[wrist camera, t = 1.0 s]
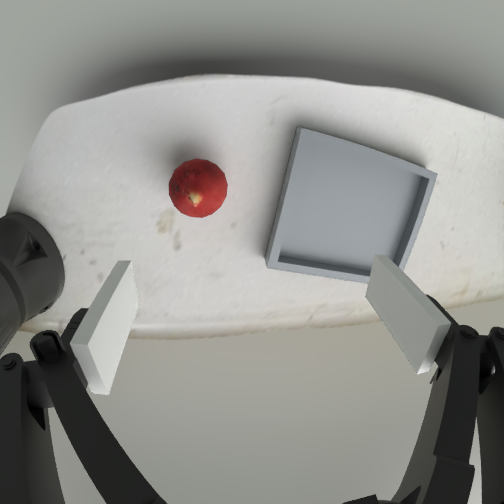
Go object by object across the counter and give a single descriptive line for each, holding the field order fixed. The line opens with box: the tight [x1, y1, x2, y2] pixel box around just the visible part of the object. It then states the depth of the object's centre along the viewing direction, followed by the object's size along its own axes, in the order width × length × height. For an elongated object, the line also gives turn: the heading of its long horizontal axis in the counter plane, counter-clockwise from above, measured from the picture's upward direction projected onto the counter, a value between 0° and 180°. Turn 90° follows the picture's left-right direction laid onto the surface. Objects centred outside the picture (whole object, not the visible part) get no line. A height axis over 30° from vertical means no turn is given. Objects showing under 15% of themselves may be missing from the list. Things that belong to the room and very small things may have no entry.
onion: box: [169, 159, 228, 218], centre depth 30 cm, size 6×6×8 cm
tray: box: [265, 127, 437, 284], centre depth 35 cm, size 18×16×2 cm
